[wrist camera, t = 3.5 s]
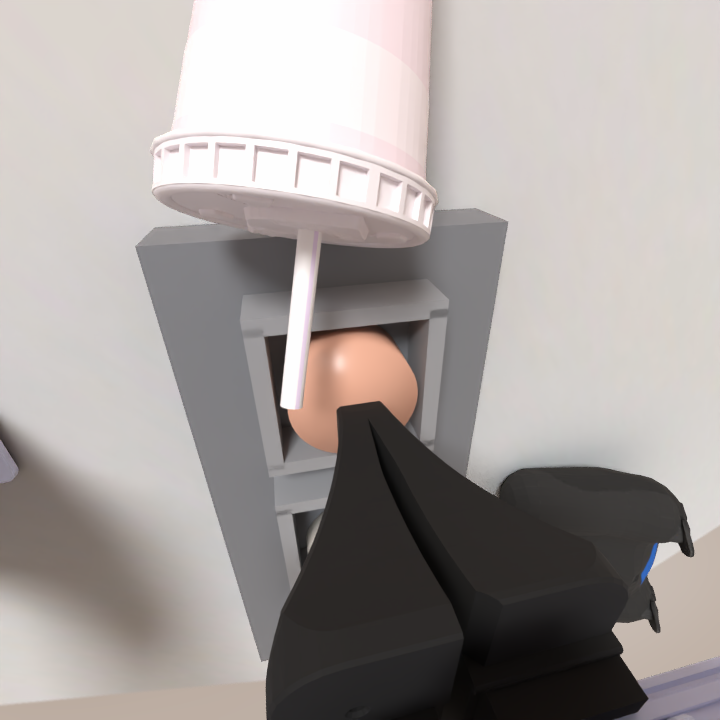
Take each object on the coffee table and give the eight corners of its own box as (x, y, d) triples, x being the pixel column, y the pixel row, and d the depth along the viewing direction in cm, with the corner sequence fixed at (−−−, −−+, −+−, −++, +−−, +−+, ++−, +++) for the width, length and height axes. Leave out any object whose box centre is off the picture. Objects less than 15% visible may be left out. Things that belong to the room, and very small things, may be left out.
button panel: (261, 619, 27) (261, 700, 24) (154, 227, 14) (114, 267, 10) (429, 582, 29) (453, 651, 26) (475, 208, 16) (542, 235, 12)
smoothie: (582, -267, 8) (457, 427, 10) (368, -69, 12) (316, 368, 15) (285, -979, 4) (189, 476, 6) (136, -278, 8) (115, 373, 11)
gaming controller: (504, 566, 35) (639, 594, 32) (500, 638, 31) (656, 680, 27) (502, 429, 26) (689, 445, 23) (496, 503, 22) (727, 537, 18)
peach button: (291, 426, 16) (294, 462, 14) (277, 325, 14) (279, 354, 12) (398, 410, 17) (414, 443, 15) (403, 312, 14) (421, 337, 13)
